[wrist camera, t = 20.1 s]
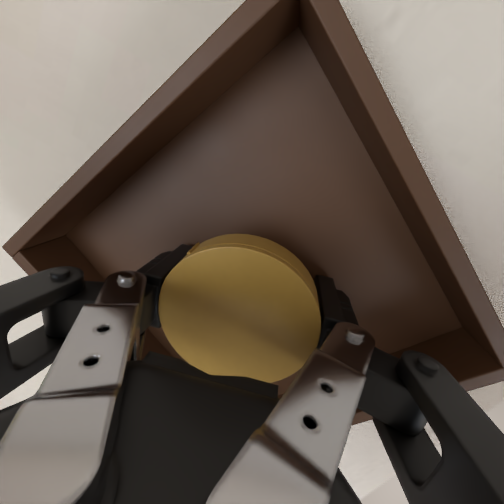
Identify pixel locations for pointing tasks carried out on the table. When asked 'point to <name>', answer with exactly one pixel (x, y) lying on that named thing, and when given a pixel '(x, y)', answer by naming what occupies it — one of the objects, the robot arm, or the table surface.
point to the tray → (280, 187)
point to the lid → (241, 308)
